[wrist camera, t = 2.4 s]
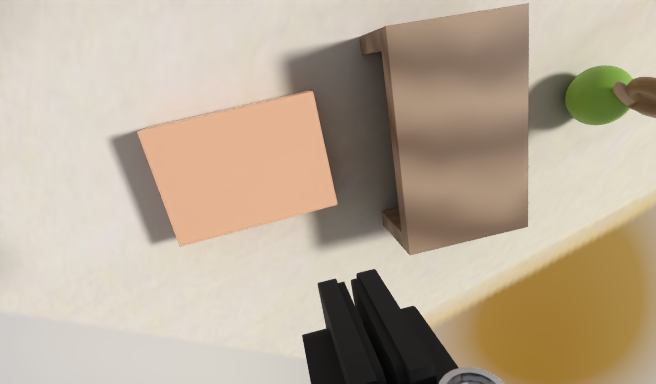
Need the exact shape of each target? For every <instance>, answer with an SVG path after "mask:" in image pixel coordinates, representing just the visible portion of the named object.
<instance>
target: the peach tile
mask: <svg viewBox="0 0 656 384" xmlns="http://www.w3.org/2000/svg"><path fill="white" fill-rule="evenodd" d="M137 133H138V136H139V139H140V141H141V144H142V147H143V149H144V152H145V155H146V158H147V160H148V163H149V166H150V168H151V171H152V174H153V176H154V179H155V182H156V184H157V187H158V190H159V192H160V195H161V198H162V200H163V203H164V206H165V208H166V211H167V214H168V216H169V219H170V222H171V225H172V227H173V230H174V233H175V235H176V238H177V241H178V243H179V246H180V247H181V246H184V245H188V244H192V243H196V242H199V241H203V240H207V239H211V238H214V237H218V236H222V235H226V234H229V233H233V232H237V231H241V230H244V229H248V228H252V227H256V226H259V225H263V224H267V223H271V222H274V221H278V220H282V219H286V218H289V217H293V216H297V215H301V214H304V213H308V212H312V211H316V210H320V209H323V208H327V207H331V206H335V205H338V204H337V199H336V195H335V190H334V186H333V181H332V176H331V172H330V167H329V162H328V158H327V153H326V149H325V144H324V139H323V135H322V130H321V126H320V121H319V116H318V112H317V107H316V103H315V98H314V93H313V91H309V90H307V91H303V92H299V93H294V94H290V95H286V96H281V97H277V98H273V99H268V100H264V101H259V102H255V103H251V104H246V105H242V106H238V107H233V108H229V109H225V110H220V111H216V112H212V113H207V114H203V115H198V116H194V117H190V118H185V119H181V120H177V121H172V122H168V123H164V124H159V125H155V126H151V127H147V128H145V129H142V130H140V131H138V132H137Z"/></svg>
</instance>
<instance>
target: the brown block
mask: <svg viewBox="0 0 656 384" xmlns="http://www.w3.org/2000/svg"><path fill="white" fill-rule="evenodd" d="M360 43H361V51H362V55H364V54H370V53H376V52H382V60H383V69H384V78H385V87H386V96H387V105H388V114H389V123H390V132H391V141H392V150H393V159H394V169H395V178H396V187H397V196H398V205H399V208H395V209H390V210H386V211H382V218H383V225H384V226H385V227H386V229H387V230H388V231H389V232H390V233H391V234H392V235H393V237H394V238H395V239H396V240H397V241H398V242H399V243H400V245H401V246H402V247H403V248H404V249H405V250H406V251H407V253H408V254H409V255H413V254H417V253H421V252H425V251H429V250H434V249H438V248H442V247H446V246H450V245H454V244H458V243H463V242H467V241H471V240H475V239H479V238H483V237H487V236H492V235H496V234H500V233H504V232H508V231H512V230H517V229H521V228H525V227H528V67H529V3H528V4H521V5H515V6H509V7H503V8H496V9H490V10H484V11H478V12H471V13H465V14H459V15H453V16H446V17H440V18H434V19H428V20H421V21H415V22H409V23H403V24H397V25H390V26H385V27H383V28H380V29H378V30H375V31H373V32H370V33H368V34H365V35H363V36H360Z"/></svg>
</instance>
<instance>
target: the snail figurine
mask: <svg viewBox="0 0 656 384" xmlns="http://www.w3.org/2000/svg"><path fill="white" fill-rule="evenodd" d="M565 103H566V107H567V110H568V112H569V113H570V114H571V116H572V117H573V118H575V119H576V120H578V121H579V122H582V123H585V124H589V125H602V124H607V123H610V122H613V121H615V120H617V119H619V118H620V117H622V116H623V115H624V114H625V113H626V112H627V111H628V110H629V109H630V108H631V109H633V110H636V111H638V112H639V113H641V114H643V115H646V116H650V117H654V118H656V78H652V77H639V78H635V79H632V77H631V76H630V75H629V74H628V73H627V72H626V71H624V70H622V69H620V68H618V67H614V66H597V67H593V68H590V69H588V70H586V71H584V72H582V73H581V74H579V75H578V76H577V77H576V78H575V79H574V80H573V81H572V82H571V84H570V85H569V87H568V89H567V92H566V96H565Z"/></svg>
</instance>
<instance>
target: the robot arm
mask: <svg viewBox="0 0 656 384" xmlns="http://www.w3.org/2000/svg"><path fill="white" fill-rule="evenodd" d="M351 285H352V291H353V297H354V303H355V305H354V303H353V301H352V299H351V296H350V294H349V292H348V290H347V287H346V285H345V283H344V282H341V283H337V280H336V279H332V280H328V281H324V282H320V283H318V288H319V293H320V298H321V303H322V308H323V313H324V318H325V323H326V328H327V329H323V330H319V331H315V332H312V333H308V334H304V335H302V337H303V342H304V348H305V353H306V359H307V364H308V369H309V375H310V380H311V384H505V383H504V382H503V381H502V380H500V379H499V378H498V377H496V376H495V375H494V374H492V373H490V372H487V371H485V370H483V369H478V368H473V367H463V368H458V366H457V365H456V364H455V362H454V361H453V360H452V358H451V356H450V355H449V354H448V352H447V351H446V349H445V348H444V346H443V345H442V344H441V342H440V341H439V340H438V338H437V337H436V335H435V334H434V332H433V331H432V329H431V328H430V327H429V325H428V324H427V322H426V321H425V320H424V318H423V317H422V315H421V314H420V312H419V311H418V310H417V309H416V307H414V306H411V307H407V308H403V309H400V307H399V306H398V304H397V303H396V301H395V300H394V298H393V296H392V295H391V293H390V292H389V290H388V289H387V287H386V285H385V284H384V282H383V281H382V279H381V278H380V276H379V274H378V273H377V271H376V270H375V269H373V270H369V271H365V272H360V273H357V279H353V280H351Z"/></svg>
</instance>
